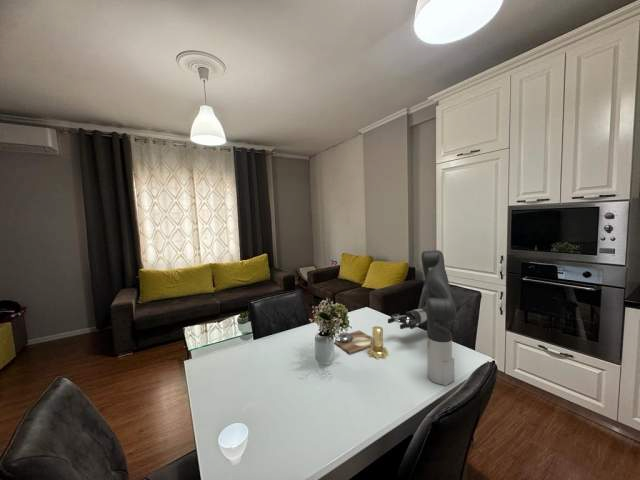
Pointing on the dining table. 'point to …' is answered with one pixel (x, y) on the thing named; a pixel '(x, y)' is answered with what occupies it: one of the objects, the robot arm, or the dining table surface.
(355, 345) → the gear board
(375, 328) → the cylinder
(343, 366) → the dining table surface
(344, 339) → the gear
